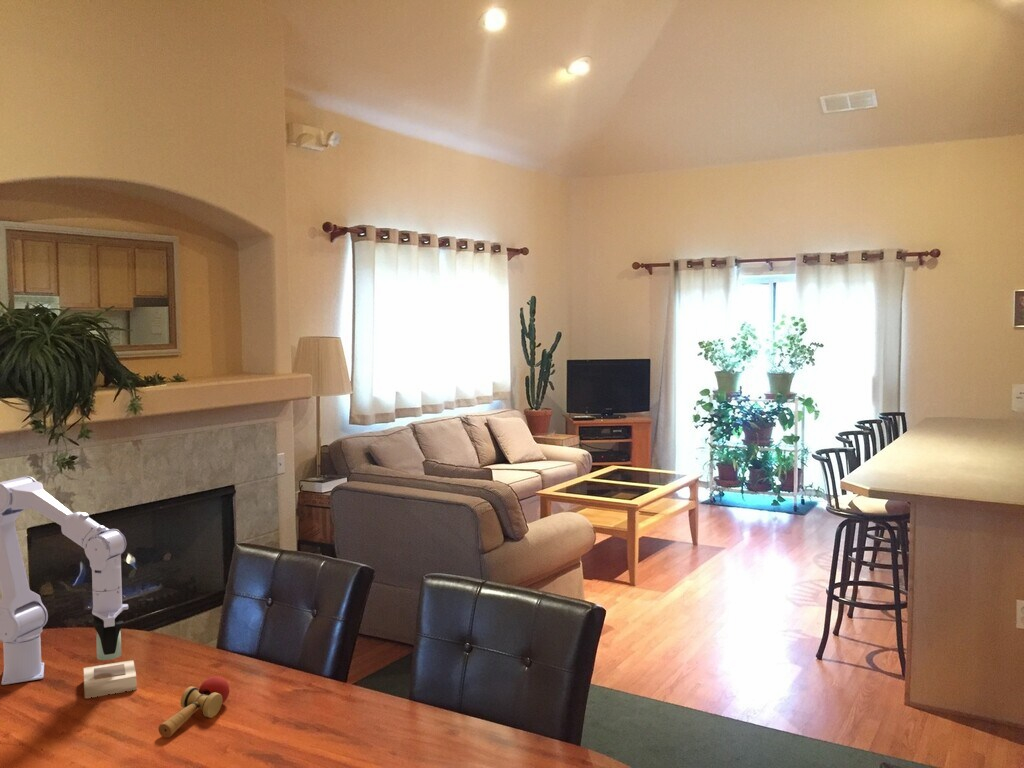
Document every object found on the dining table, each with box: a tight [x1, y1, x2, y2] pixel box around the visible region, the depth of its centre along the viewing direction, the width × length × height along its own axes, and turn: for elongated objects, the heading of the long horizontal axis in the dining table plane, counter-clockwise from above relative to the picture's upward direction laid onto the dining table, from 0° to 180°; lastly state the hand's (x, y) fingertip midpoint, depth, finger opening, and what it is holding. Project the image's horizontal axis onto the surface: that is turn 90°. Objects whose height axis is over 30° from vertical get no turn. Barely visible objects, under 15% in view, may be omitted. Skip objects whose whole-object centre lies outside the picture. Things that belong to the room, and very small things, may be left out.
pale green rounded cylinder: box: [95, 630, 122, 661], centre depth 189 cm, size 5×5×5 cm
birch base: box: [83, 659, 138, 699], centre depth 190 cm, size 10×10×3 cm
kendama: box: [157, 675, 230, 739], centre depth 174 cm, size 8×6×18 cm
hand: (109, 649), depth 189 cm, fingers closed on pale green rounded cylinder, 5 cm apart
